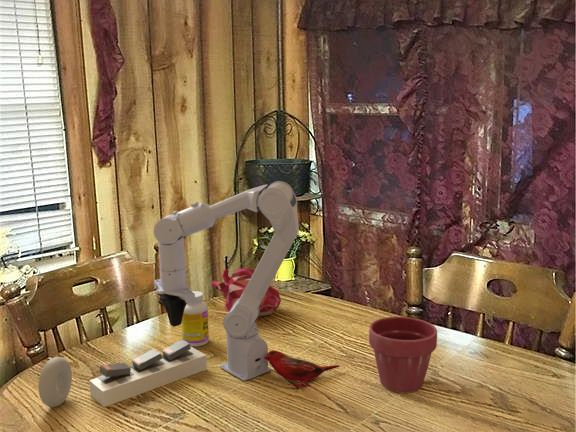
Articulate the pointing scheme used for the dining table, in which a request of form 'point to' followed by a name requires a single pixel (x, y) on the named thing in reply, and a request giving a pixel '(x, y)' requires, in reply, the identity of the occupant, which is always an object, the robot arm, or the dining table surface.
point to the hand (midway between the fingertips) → (175, 324)
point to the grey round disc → (55, 381)
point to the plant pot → (402, 351)
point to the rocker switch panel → (147, 377)
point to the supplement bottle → (195, 322)
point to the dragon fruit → (236, 287)
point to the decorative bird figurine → (295, 368)
